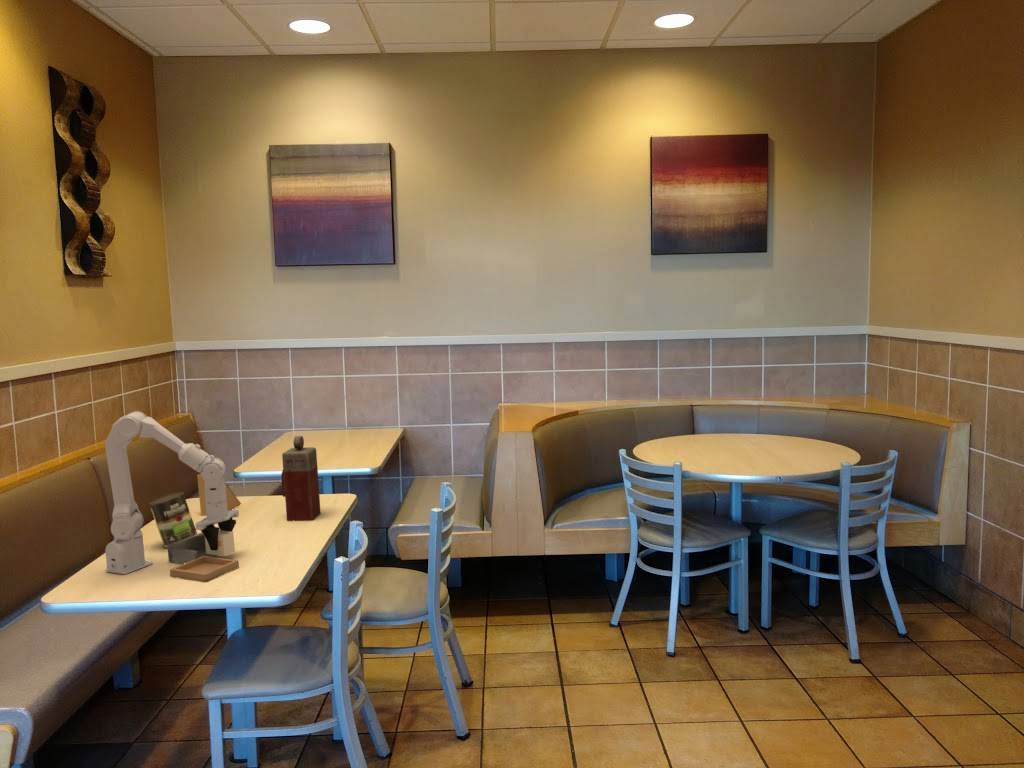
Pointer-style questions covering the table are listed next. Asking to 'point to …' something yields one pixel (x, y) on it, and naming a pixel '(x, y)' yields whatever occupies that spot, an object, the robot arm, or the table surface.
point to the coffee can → (172, 518)
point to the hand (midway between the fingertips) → (220, 547)
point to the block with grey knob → (222, 544)
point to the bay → (188, 549)
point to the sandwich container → (231, 498)
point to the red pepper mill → (300, 482)
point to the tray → (204, 568)
